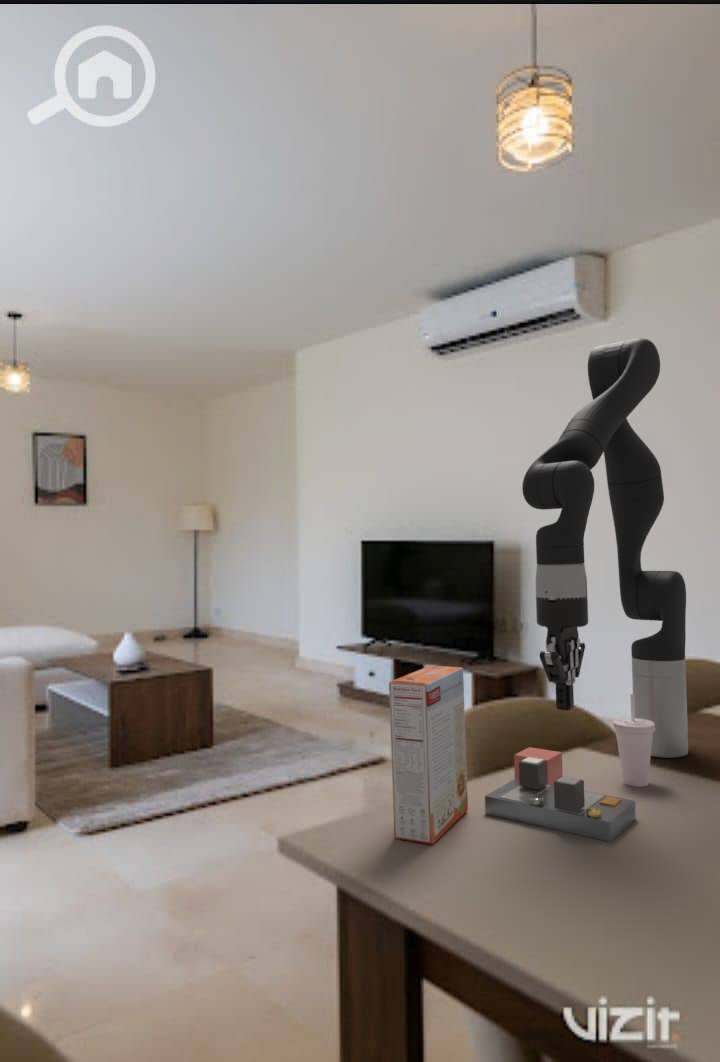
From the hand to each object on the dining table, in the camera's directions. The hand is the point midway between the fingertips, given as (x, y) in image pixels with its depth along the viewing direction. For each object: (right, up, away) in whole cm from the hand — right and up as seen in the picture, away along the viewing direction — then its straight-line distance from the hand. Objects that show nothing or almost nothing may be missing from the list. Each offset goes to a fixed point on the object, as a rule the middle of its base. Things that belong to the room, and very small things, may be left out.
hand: (565, 709), depth 112 cm
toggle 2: (-3, -10, -12) cm, 16 cm away
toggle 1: (-5, -11, -2) cm, 12 cm away
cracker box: (-21, -14, -10) cm, 27 cm away
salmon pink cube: (-2, -14, +6) cm, 15 cm away
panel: (-3, -13, -7) cm, 15 cm away
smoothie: (+13, -14, +7) cm, 20 cm away
